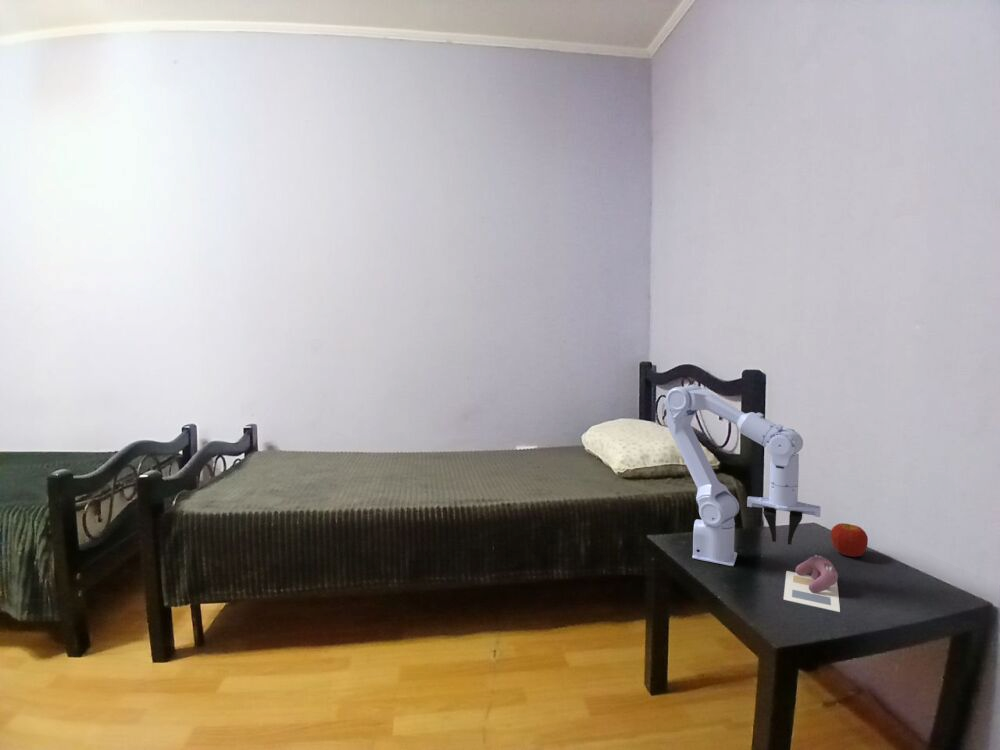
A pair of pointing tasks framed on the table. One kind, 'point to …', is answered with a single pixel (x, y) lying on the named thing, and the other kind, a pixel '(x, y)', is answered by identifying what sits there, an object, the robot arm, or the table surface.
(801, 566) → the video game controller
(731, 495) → the robot arm
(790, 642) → the table surface
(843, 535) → the apple
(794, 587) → the label card
